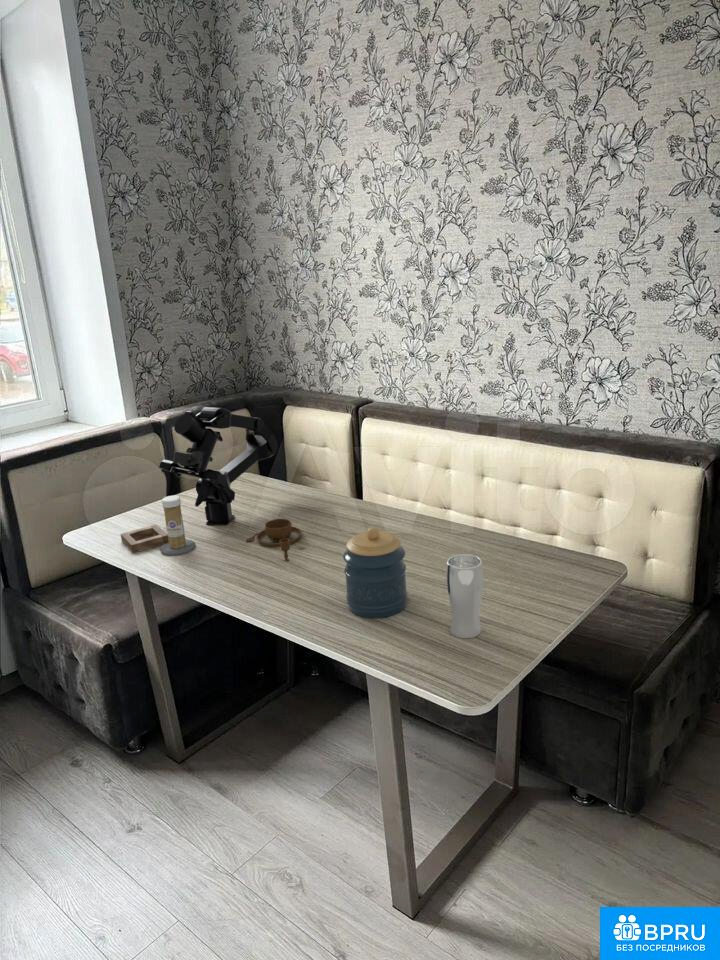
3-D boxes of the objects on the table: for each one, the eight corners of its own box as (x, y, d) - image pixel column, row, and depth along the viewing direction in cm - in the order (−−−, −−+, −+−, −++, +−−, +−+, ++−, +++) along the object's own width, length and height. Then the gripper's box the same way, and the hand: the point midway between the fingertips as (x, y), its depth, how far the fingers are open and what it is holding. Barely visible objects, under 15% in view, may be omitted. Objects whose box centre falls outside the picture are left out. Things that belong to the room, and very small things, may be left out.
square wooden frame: (157, 531, 205) (156, 524, 205) (169, 542, 197) (168, 534, 197) (121, 541, 200) (120, 533, 200) (133, 552, 192) (131, 545, 192)
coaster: (200, 541, 197) (200, 539, 196) (187, 555, 188) (187, 553, 188) (168, 541, 198) (168, 539, 198) (154, 555, 190) (154, 553, 190)
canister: (372, 585, 166) (367, 512, 160) (419, 599, 158) (416, 523, 152) (334, 608, 156) (328, 532, 151) (382, 625, 148) (377, 545, 143)
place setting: (319, 533, 198) (317, 513, 196) (292, 565, 180) (289, 543, 178) (259, 530, 203) (256, 510, 201) (227, 560, 185) (224, 539, 183)
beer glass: (480, 620, 148) (479, 552, 143) (486, 638, 141) (486, 567, 136) (445, 623, 148) (443, 554, 143) (450, 641, 141) (448, 570, 136)
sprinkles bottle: (169, 550, 190) (161, 502, 186) (169, 543, 195) (161, 496, 190) (187, 547, 191) (179, 499, 187) (186, 541, 196) (179, 493, 191)
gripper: (158, 432, 196) (136, 485, 192) (217, 443, 190) (196, 499, 185) (179, 448, 206) (159, 499, 202) (236, 459, 200) (216, 513, 195)
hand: (181, 502), depth 196 cm, fingers open, 9 cm apart
